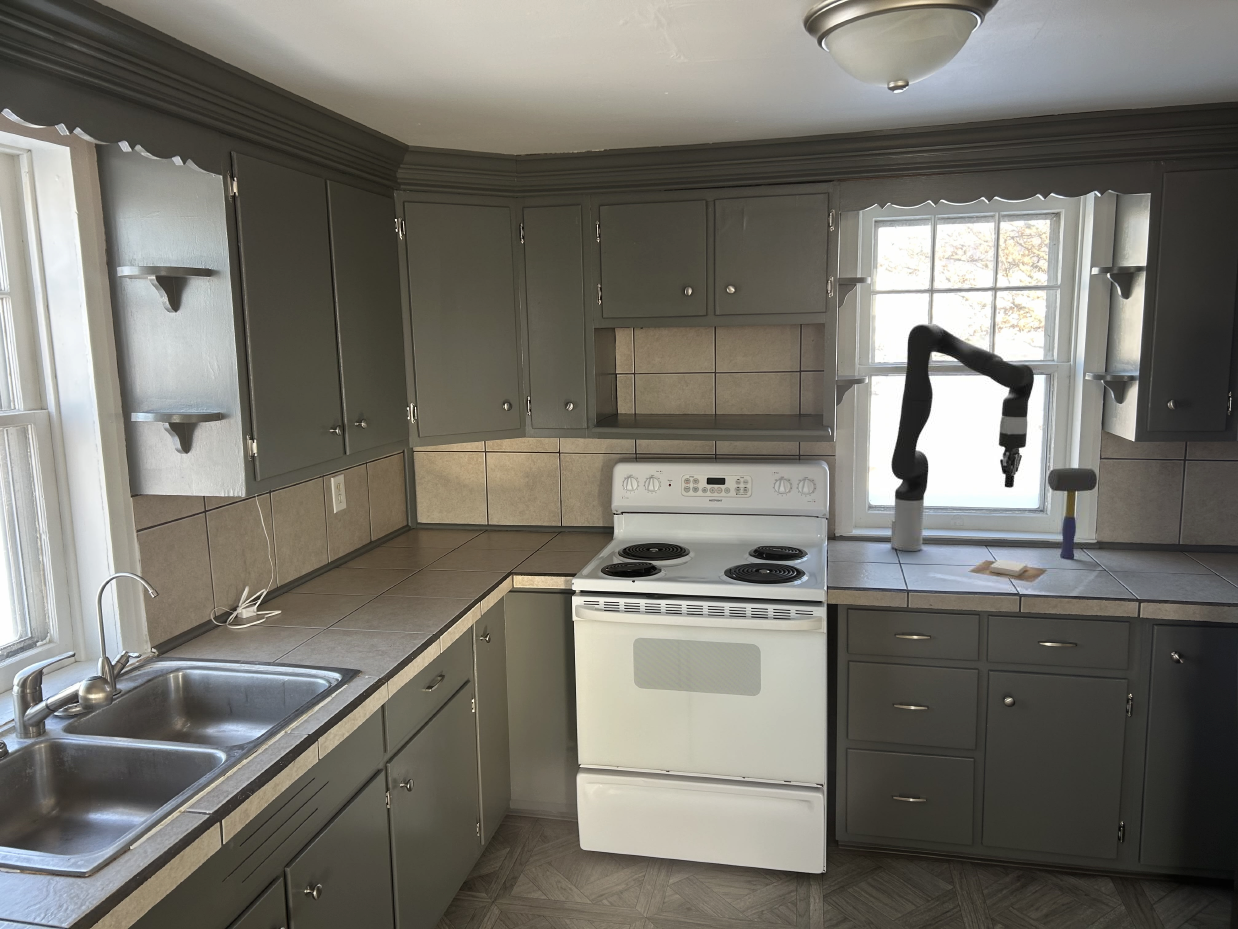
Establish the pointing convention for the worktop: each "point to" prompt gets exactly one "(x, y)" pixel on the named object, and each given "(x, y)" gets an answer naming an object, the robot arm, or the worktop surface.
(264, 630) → the worktop surface
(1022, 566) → the block
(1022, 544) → the worktop surface
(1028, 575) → the board
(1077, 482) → the rubber mallet
